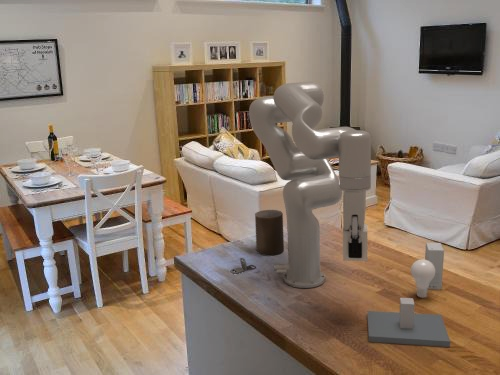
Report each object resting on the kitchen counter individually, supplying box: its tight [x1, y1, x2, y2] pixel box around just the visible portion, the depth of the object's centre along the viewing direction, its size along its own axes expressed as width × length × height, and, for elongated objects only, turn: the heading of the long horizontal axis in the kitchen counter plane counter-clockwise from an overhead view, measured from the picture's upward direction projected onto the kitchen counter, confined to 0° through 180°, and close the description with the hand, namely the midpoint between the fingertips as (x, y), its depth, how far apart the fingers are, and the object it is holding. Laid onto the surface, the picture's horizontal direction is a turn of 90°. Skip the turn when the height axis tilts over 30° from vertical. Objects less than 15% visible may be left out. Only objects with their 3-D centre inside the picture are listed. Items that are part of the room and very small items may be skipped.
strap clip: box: [230, 257, 257, 275], centre depth 159 cm, size 8×3×4 cm, turn 122°
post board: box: [366, 297, 451, 348], centre depth 120 cm, size 18×12×8 cm, turn 79°
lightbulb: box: [410, 258, 436, 299], centre depth 135 cm, size 6×6×11 cm
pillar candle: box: [254, 209, 285, 257], centre depth 172 cm, size 10×10×15 cm
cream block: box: [342, 223, 368, 262], centre depth 123 cm, size 6×6×8 cm
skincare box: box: [424, 242, 445, 291], centre depth 142 cm, size 6×4×12 cm
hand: (355, 252), depth 124 cm, fingers closed on cream block, 5 cm apart
